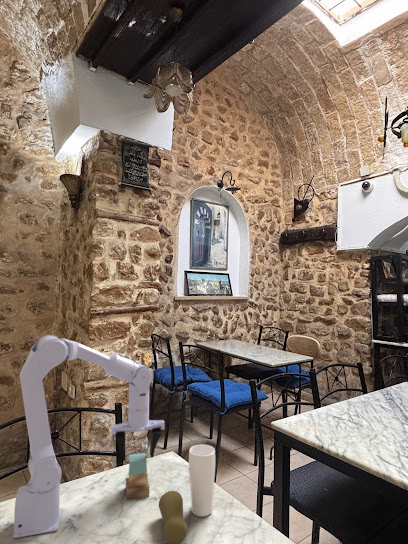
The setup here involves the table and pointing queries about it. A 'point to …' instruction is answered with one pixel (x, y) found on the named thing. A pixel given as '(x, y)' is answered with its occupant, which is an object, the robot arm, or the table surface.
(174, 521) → the olive rounded piece
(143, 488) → the tower base
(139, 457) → the teal block
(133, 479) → the tower mid
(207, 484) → the drinking glass
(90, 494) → the table surface
